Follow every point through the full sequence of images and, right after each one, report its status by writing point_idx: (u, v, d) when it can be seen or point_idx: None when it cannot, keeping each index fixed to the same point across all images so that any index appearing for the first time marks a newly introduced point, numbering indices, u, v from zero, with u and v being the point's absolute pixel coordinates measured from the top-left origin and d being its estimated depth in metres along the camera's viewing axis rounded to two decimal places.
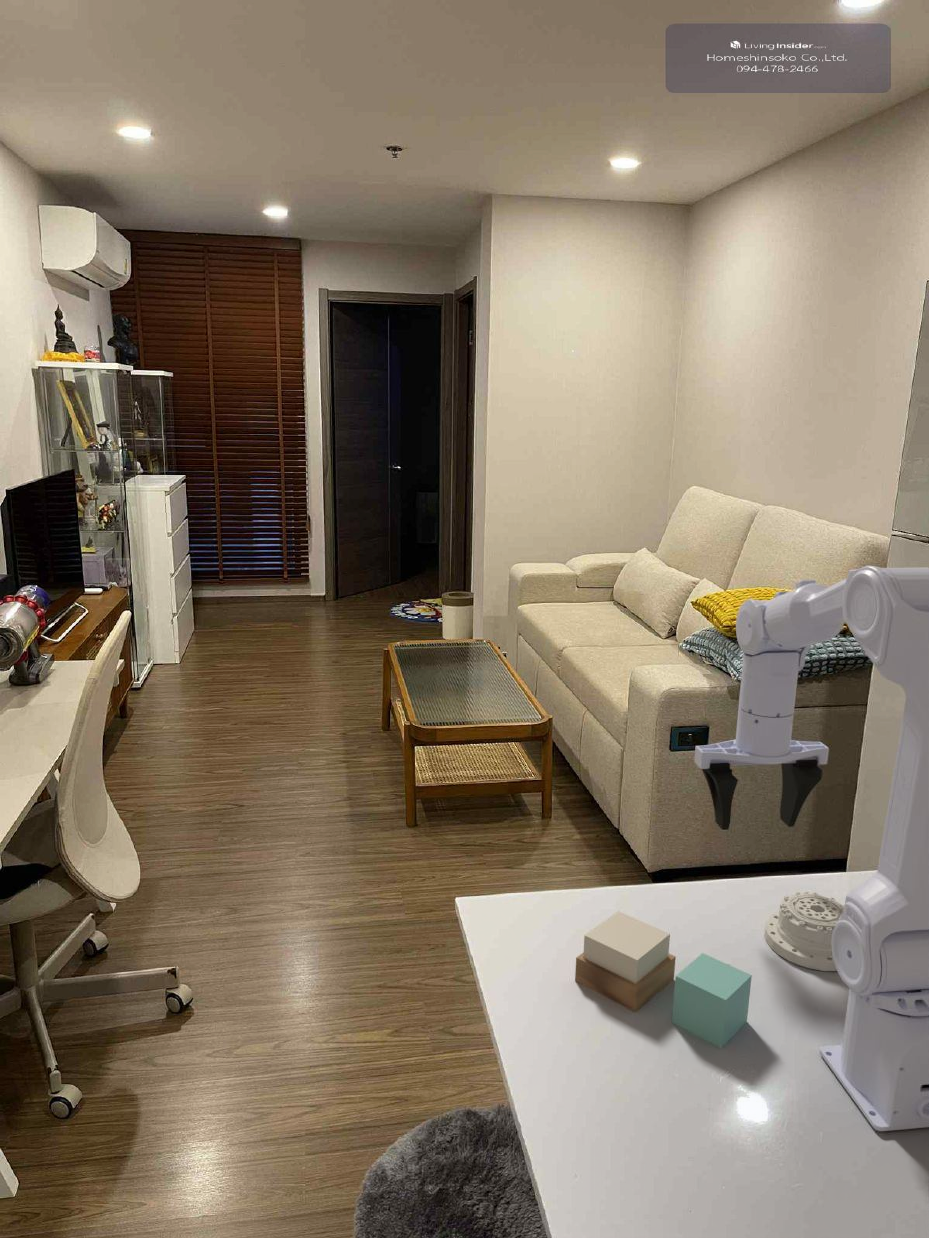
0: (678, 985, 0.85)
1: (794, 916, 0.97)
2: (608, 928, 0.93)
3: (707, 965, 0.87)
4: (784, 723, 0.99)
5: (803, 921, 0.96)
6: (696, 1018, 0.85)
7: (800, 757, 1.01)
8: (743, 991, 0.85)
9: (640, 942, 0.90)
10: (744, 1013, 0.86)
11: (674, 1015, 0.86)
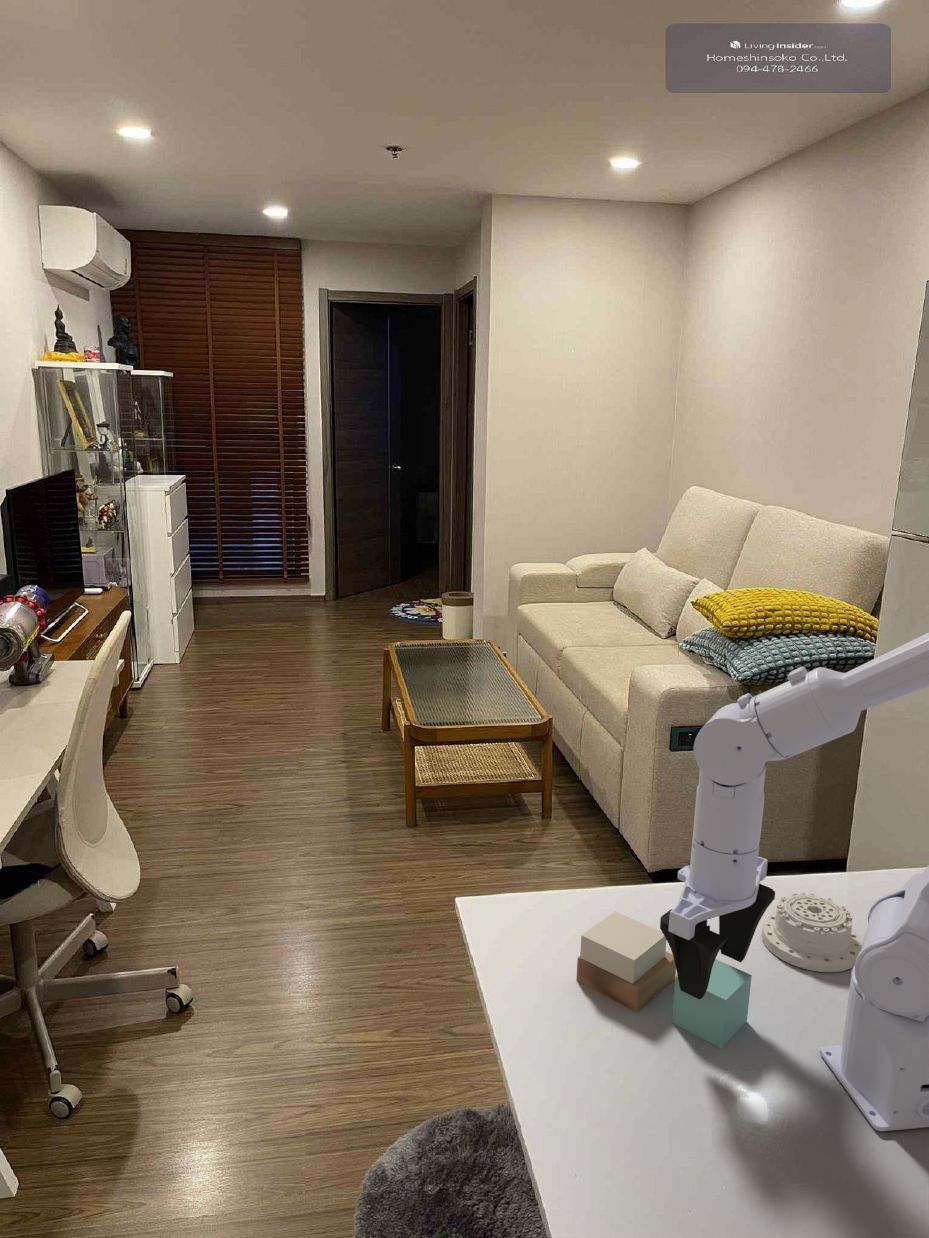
0: (678, 985, 0.85)
1: (791, 917, 0.97)
2: (605, 928, 0.93)
3: None
4: (758, 853, 0.81)
5: (799, 921, 0.96)
6: (696, 1018, 0.85)
7: None
8: (743, 991, 0.85)
9: (637, 942, 0.90)
10: (744, 1013, 0.86)
11: (674, 1015, 0.86)
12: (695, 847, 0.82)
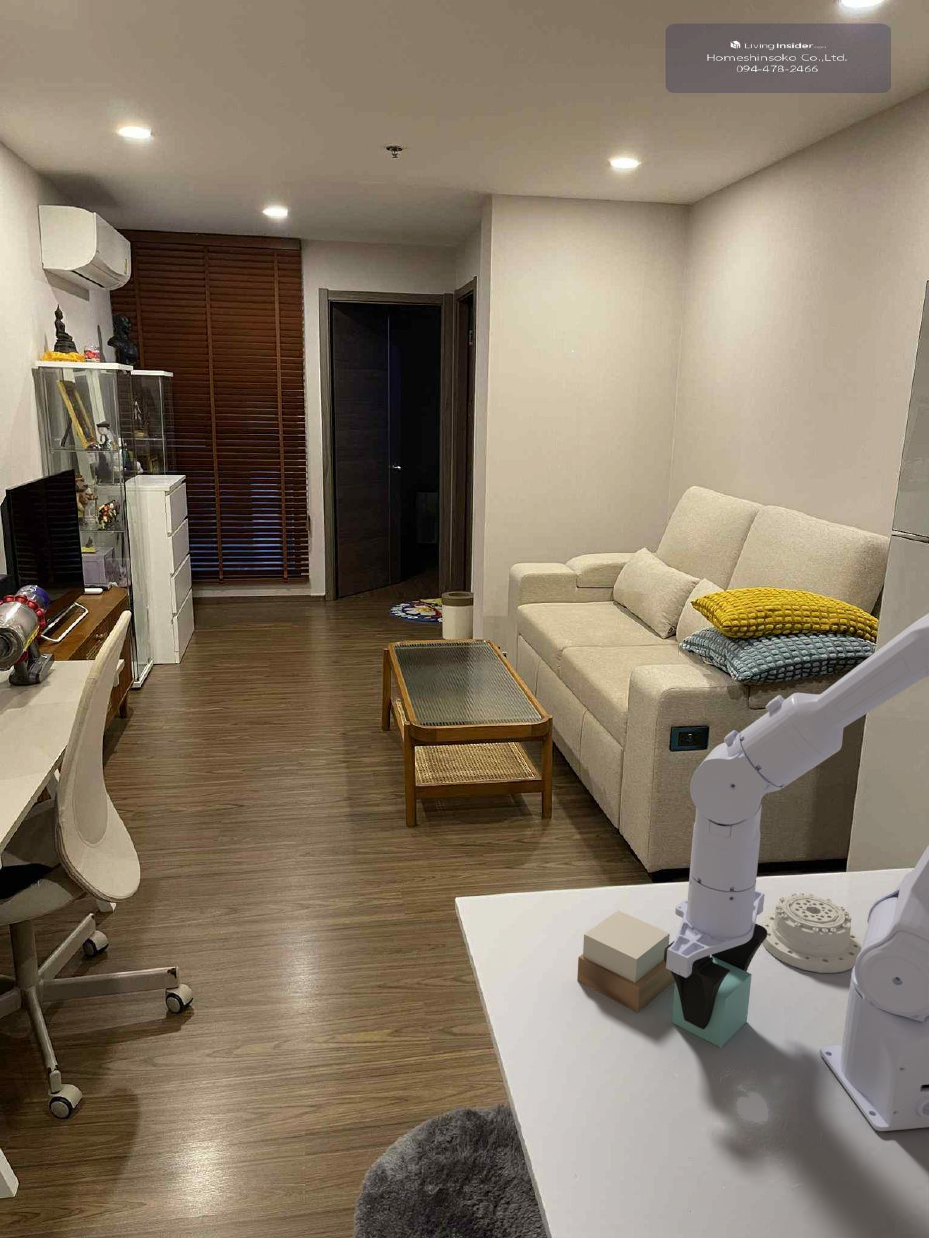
0: None
1: (790, 917, 0.97)
2: (608, 927, 0.93)
3: None
4: (754, 890, 0.82)
5: (798, 922, 0.96)
6: None
7: None
8: (743, 990, 0.85)
9: (639, 941, 0.90)
10: (744, 1012, 0.86)
11: (674, 1014, 0.86)
12: (692, 884, 0.83)
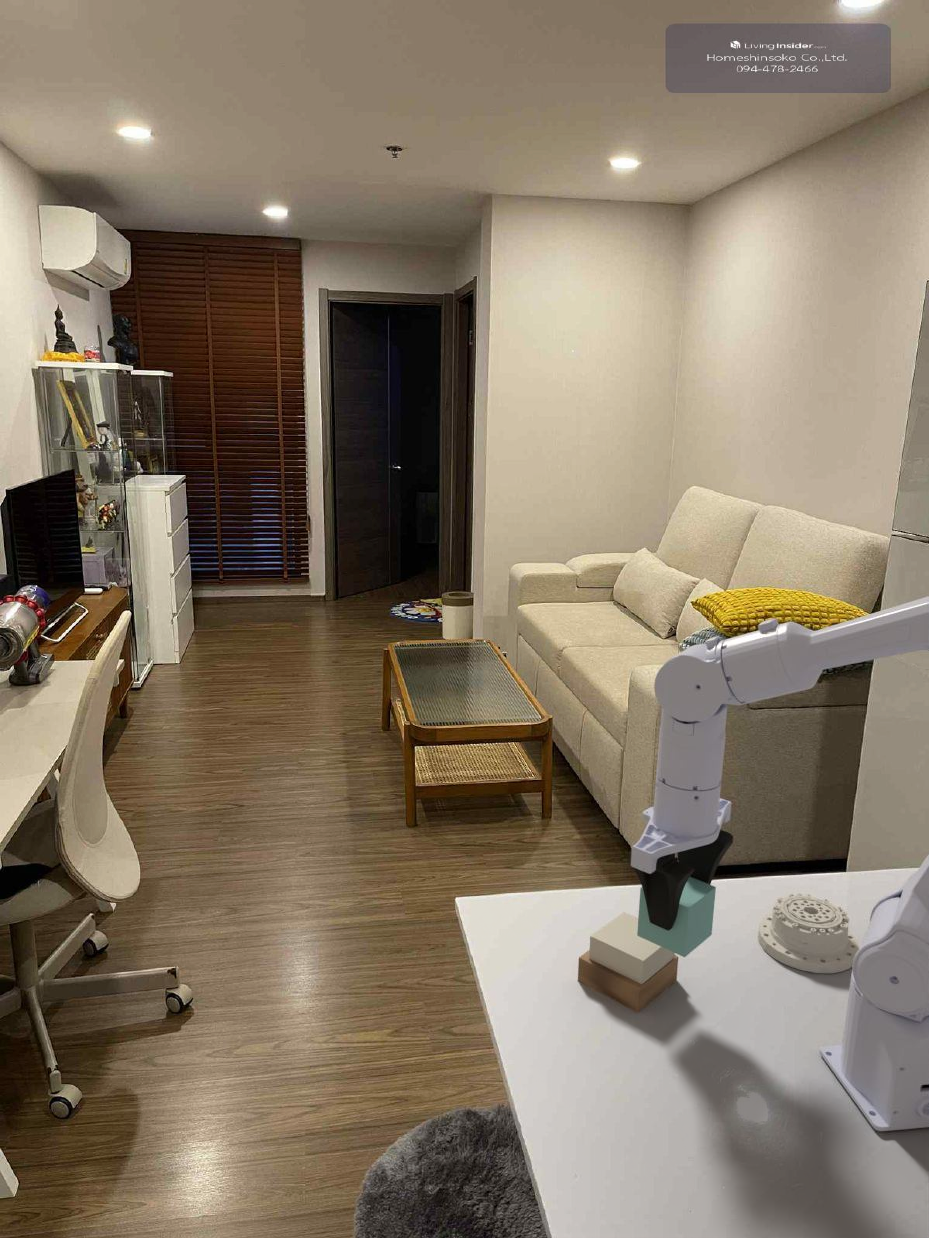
0: (643, 896, 0.86)
1: (787, 918, 0.97)
2: (614, 929, 0.92)
3: None
4: None
5: (796, 923, 0.96)
6: (661, 929, 0.86)
7: None
8: (707, 902, 0.86)
9: (646, 943, 0.90)
10: (708, 925, 0.87)
11: (639, 927, 0.87)
12: (658, 786, 0.84)
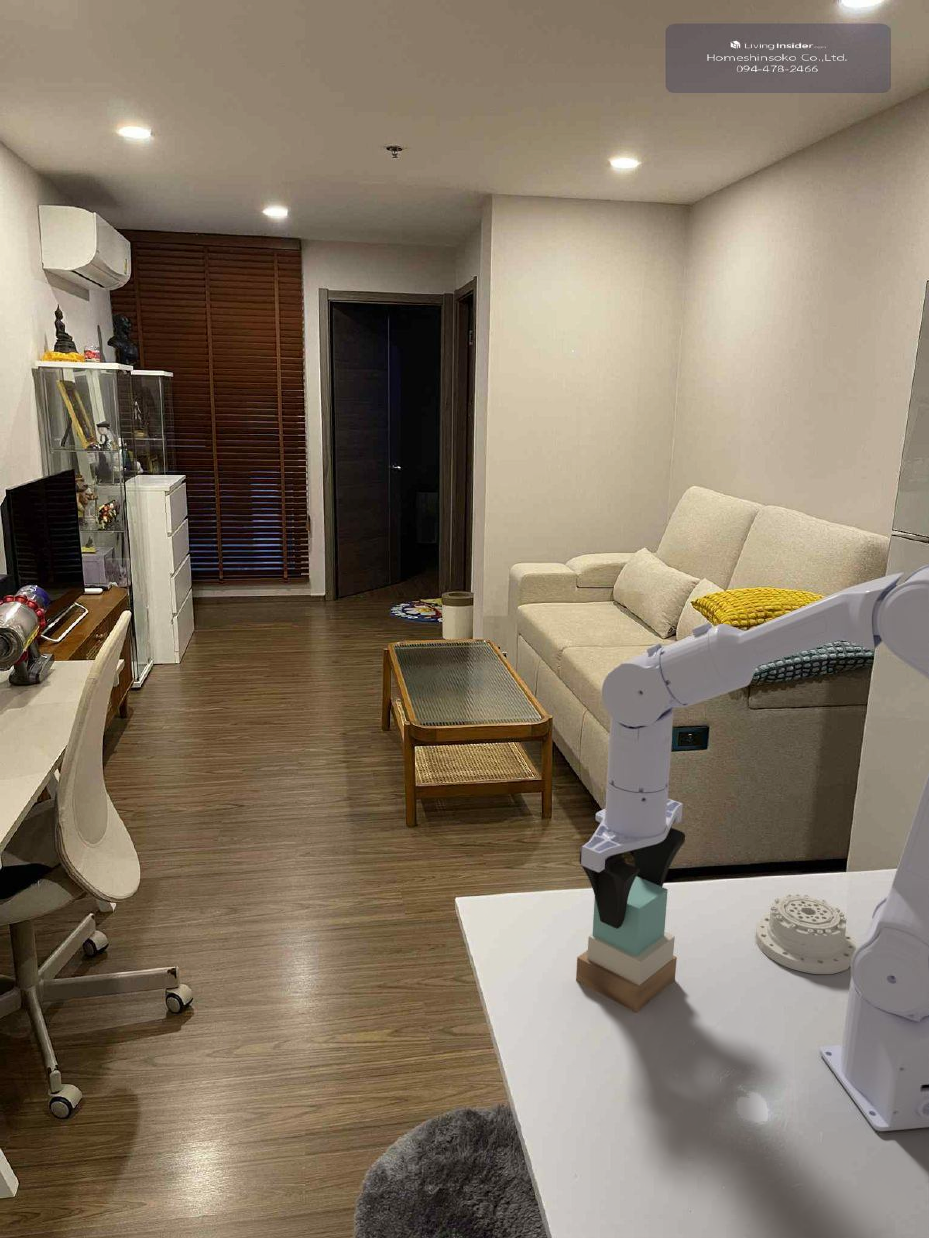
0: None
1: (785, 919, 0.97)
2: None
3: None
4: (667, 793, 0.87)
5: (793, 923, 0.96)
6: (614, 929, 0.89)
7: (671, 823, 0.90)
8: (659, 903, 0.90)
9: None
10: (661, 926, 0.91)
11: (594, 927, 0.91)
12: (608, 788, 0.87)
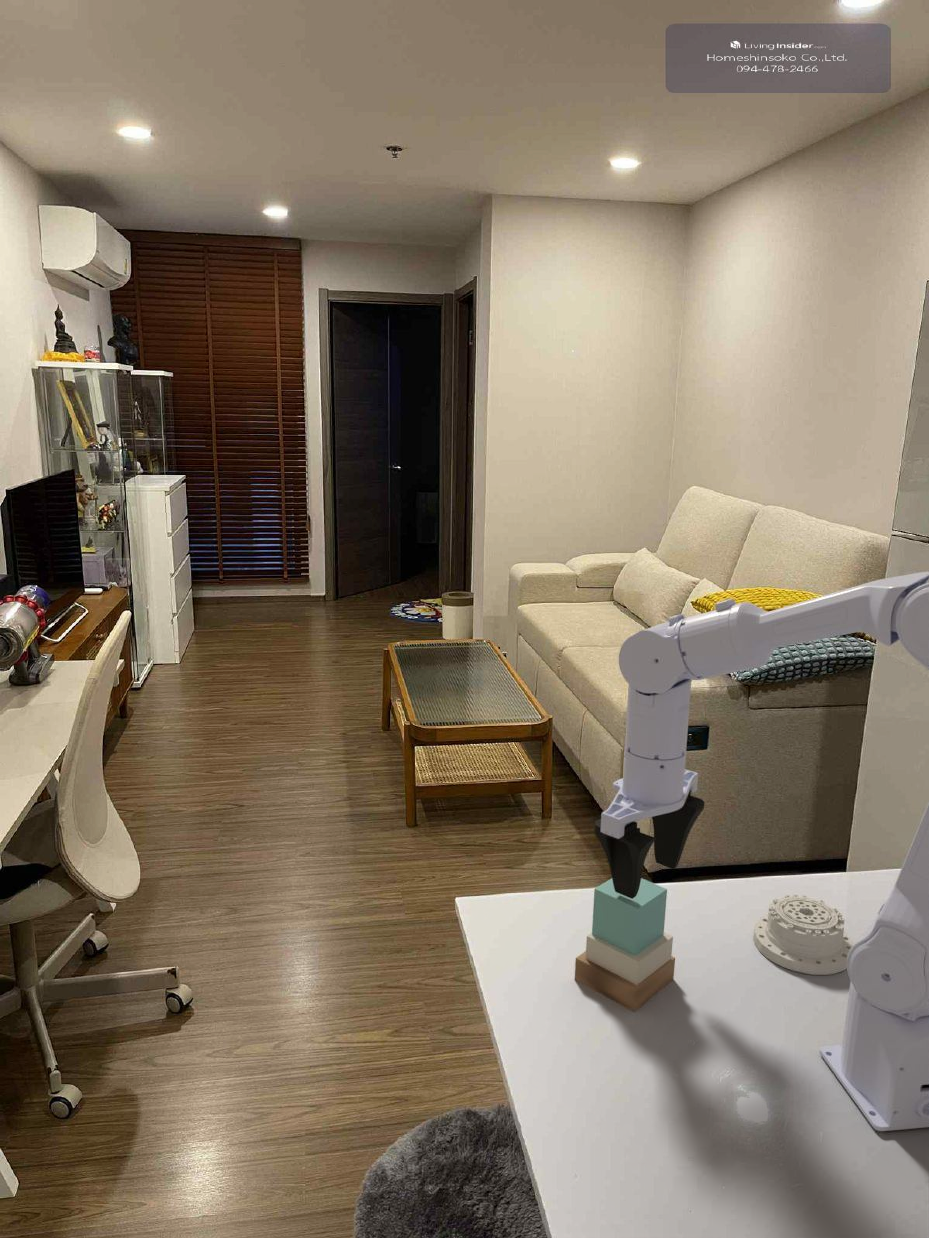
0: (597, 897, 0.91)
1: (783, 919, 0.97)
2: None
3: None
4: (684, 761, 0.87)
5: (791, 924, 0.96)
6: (613, 928, 0.90)
7: (688, 792, 0.91)
8: (658, 903, 0.90)
9: None
10: (660, 925, 0.91)
11: (594, 926, 0.91)
12: (626, 756, 0.88)
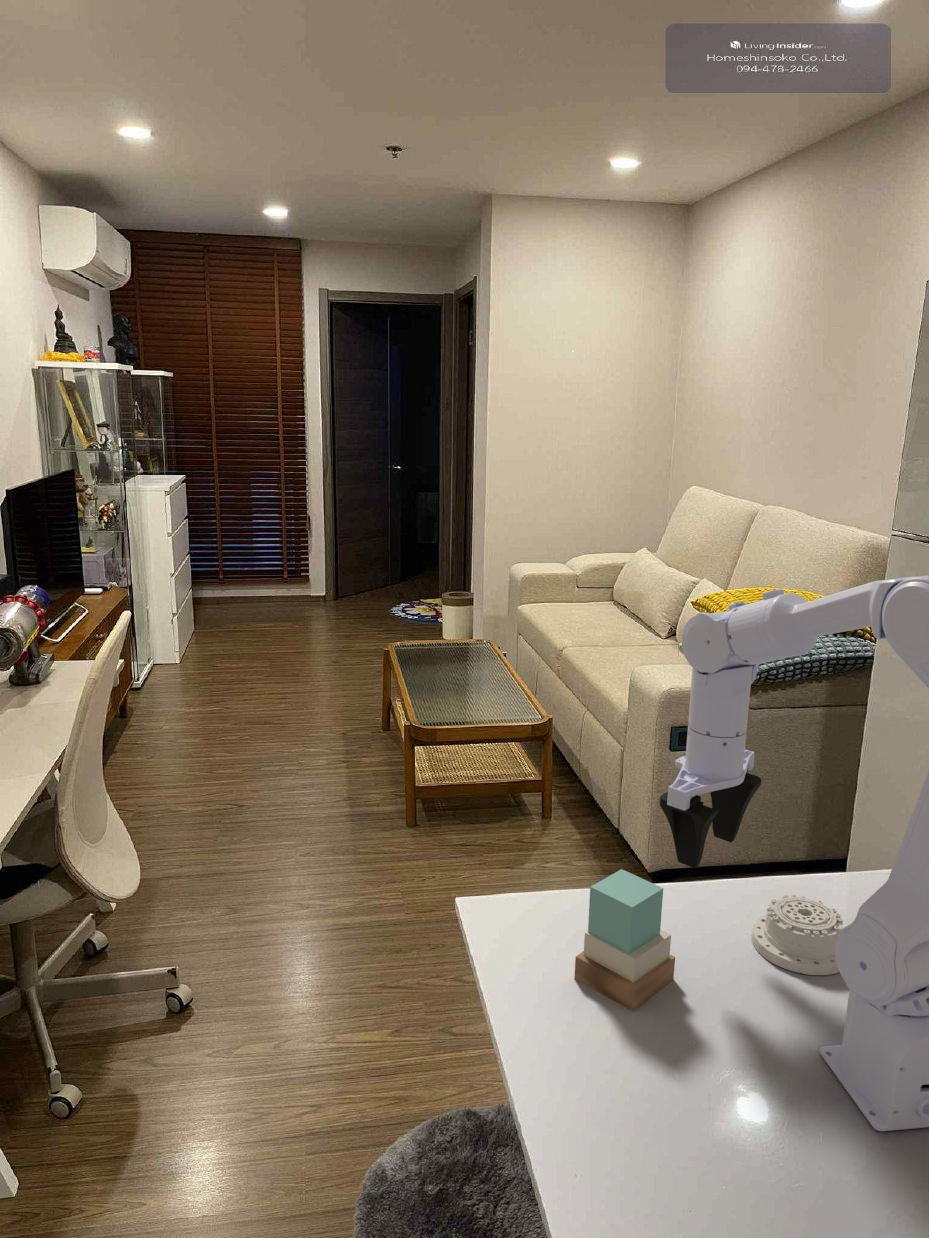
0: (592, 895, 0.91)
1: (781, 920, 0.97)
2: None
3: (623, 879, 0.92)
4: (745, 739, 0.93)
5: (790, 924, 0.96)
6: (608, 926, 0.90)
7: None
8: (653, 902, 0.90)
9: None
10: (656, 924, 0.91)
11: (590, 924, 0.92)
12: (690, 735, 0.94)
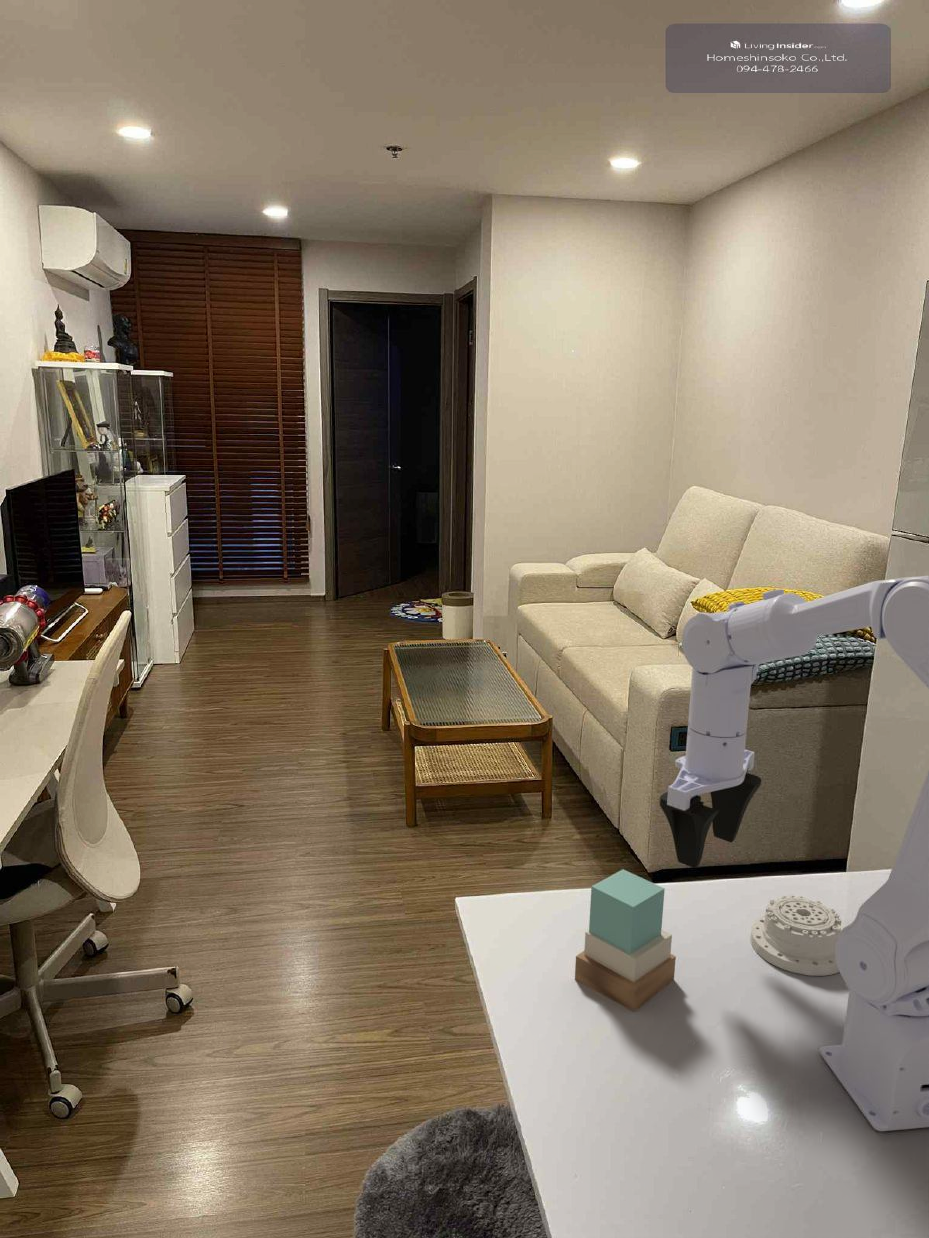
0: (593, 895, 0.91)
1: (780, 920, 0.97)
2: None
3: (624, 879, 0.92)
4: (745, 739, 0.93)
5: (788, 925, 0.96)
6: (609, 926, 0.90)
7: None
8: (655, 902, 0.90)
9: None
10: (657, 924, 0.91)
11: (591, 924, 0.91)
12: (690, 735, 0.94)
